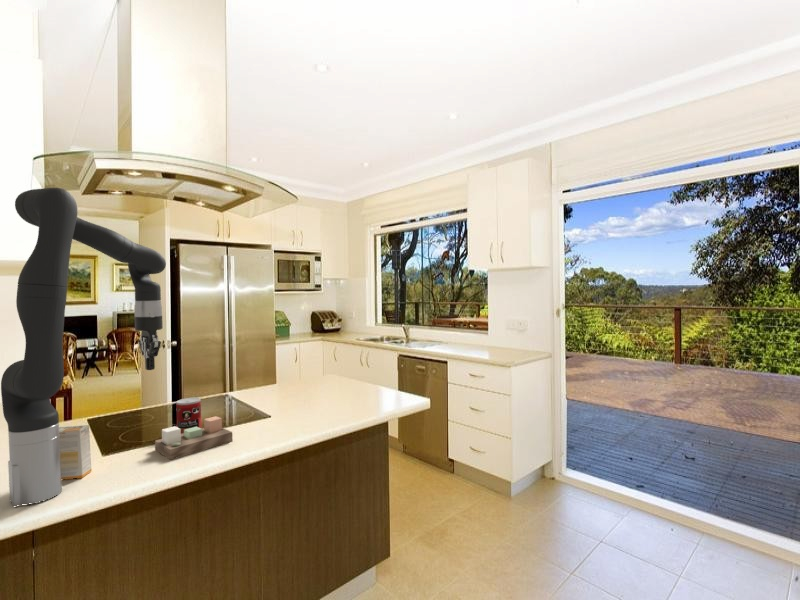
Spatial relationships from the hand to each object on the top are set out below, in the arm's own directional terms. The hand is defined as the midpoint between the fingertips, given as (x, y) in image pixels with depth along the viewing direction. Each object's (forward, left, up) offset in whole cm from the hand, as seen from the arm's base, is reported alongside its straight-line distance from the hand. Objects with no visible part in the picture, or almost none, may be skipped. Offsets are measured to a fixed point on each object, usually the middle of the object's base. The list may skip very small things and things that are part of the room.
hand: (150, 369), depth 133 cm
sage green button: (+9, -9, -24) cm, 27 cm away
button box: (+9, -10, -25) cm, 28 cm away
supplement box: (-22, -6, -25) cm, 34 cm away
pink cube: (+15, -9, -22) cm, 28 cm away
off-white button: (+2, -9, -22) cm, 24 cm away
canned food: (+14, +6, -25) cm, 29 cm away
